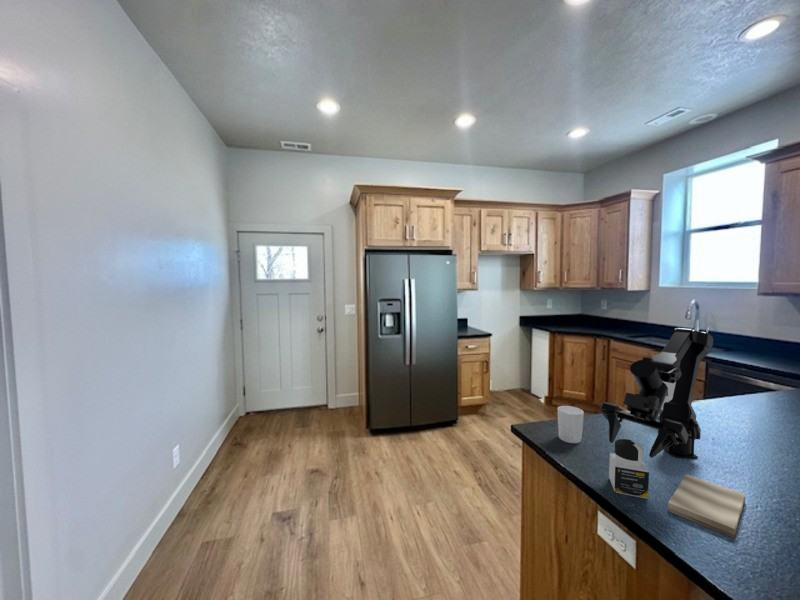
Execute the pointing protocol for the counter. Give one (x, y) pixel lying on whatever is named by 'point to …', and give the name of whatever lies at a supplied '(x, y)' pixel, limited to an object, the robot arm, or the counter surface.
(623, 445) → the medicine bottle
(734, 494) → the tan flat slab
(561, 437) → the white cup
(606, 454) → the counter surface
